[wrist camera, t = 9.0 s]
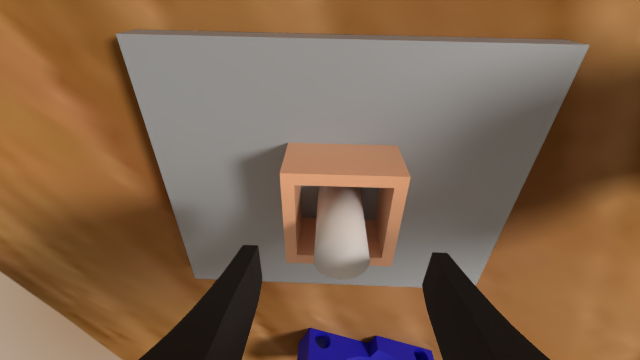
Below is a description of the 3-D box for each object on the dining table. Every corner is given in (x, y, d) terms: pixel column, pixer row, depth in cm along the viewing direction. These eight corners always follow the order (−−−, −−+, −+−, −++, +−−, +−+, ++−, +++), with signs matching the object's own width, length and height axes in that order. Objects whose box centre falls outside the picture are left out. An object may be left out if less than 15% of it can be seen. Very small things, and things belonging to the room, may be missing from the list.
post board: (565, 39, 14) (723, 74, 8) (465, 272, 22) (509, 364, 17) (135, 29, 14) (8, 56, 8) (202, 262, 23) (161, 349, 17)
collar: (397, 145, 15) (410, 176, 13) (383, 227, 18) (391, 266, 16) (288, 142, 15) (279, 173, 13) (292, 224, 18) (286, 262, 16)
